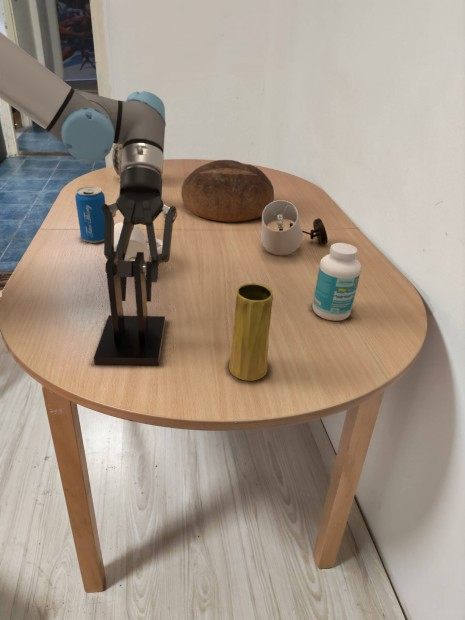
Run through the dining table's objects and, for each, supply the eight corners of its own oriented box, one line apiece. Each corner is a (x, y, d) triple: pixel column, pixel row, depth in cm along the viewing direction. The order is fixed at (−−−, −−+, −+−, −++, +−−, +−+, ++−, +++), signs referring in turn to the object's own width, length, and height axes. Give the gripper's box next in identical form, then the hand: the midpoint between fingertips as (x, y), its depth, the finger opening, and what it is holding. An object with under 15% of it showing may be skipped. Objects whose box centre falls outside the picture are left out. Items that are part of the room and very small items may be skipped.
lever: (127, 276, 81) (127, 255, 80) (148, 276, 81) (148, 256, 80) (112, 280, 68) (112, 256, 67) (136, 281, 68) (136, 257, 67)
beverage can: (77, 243, 107) (70, 194, 101) (86, 232, 113) (79, 185, 106) (104, 245, 107) (99, 195, 101) (112, 234, 113) (107, 186, 106)
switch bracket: (109, 321, 81) (99, 240, 73) (165, 322, 82) (162, 242, 73) (94, 364, 71) (81, 276, 63) (158, 365, 72) (154, 278, 63)
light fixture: (258, 240, 118) (251, 204, 102) (315, 220, 117) (317, 181, 101) (270, 273, 114) (265, 242, 98) (329, 253, 114) (334, 218, 98)
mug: (111, 276, 95) (108, 241, 91) (109, 255, 103) (105, 222, 99) (168, 271, 98) (167, 237, 94) (161, 251, 106) (160, 219, 102)
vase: (256, 386, 69) (265, 307, 61) (221, 372, 71) (225, 294, 63) (273, 364, 73) (283, 288, 66) (240, 352, 76) (245, 277, 68)
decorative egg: (106, 180, 148) (101, 132, 140) (134, 173, 156) (131, 127, 148) (129, 189, 142) (126, 139, 134) (157, 181, 150) (155, 134, 142)
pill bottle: (331, 327, 83) (345, 261, 76) (303, 308, 88) (314, 244, 81) (358, 315, 87) (374, 251, 80) (330, 297, 92) (342, 236, 85)
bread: (183, 191, 143) (183, 148, 136) (267, 194, 144) (271, 152, 137) (178, 222, 121) (177, 173, 114) (277, 226, 123) (283, 177, 115)
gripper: (90, 162, 79) (79, 292, 74) (187, 166, 80) (182, 295, 75) (100, 183, 86) (90, 303, 81) (188, 186, 87) (184, 305, 82)
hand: (134, 299), depth 78 cm, fingers open, 4 cm apart
